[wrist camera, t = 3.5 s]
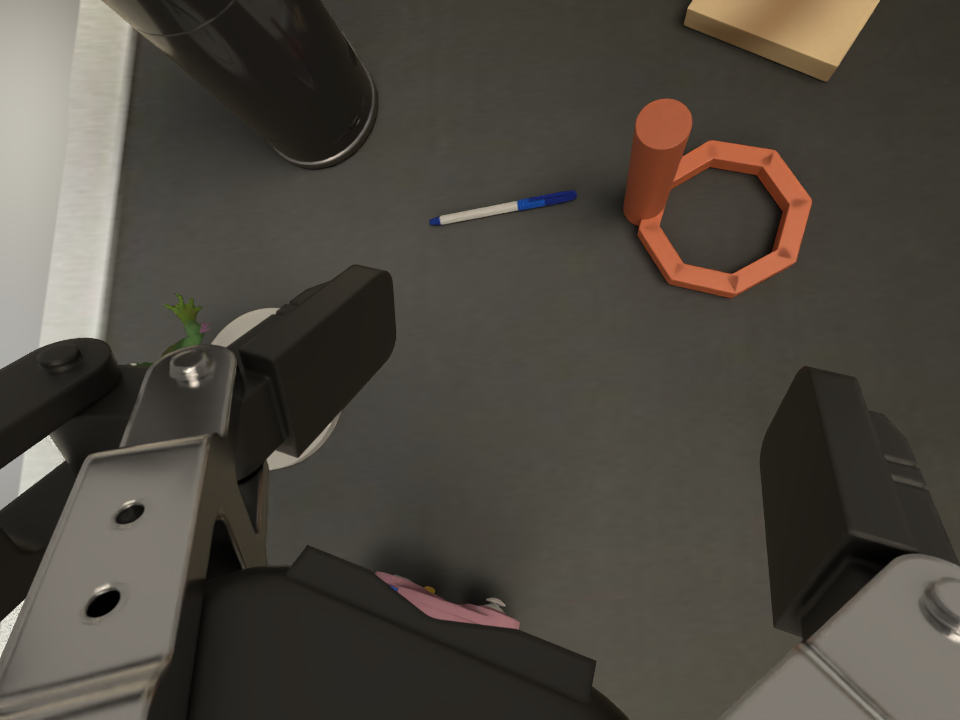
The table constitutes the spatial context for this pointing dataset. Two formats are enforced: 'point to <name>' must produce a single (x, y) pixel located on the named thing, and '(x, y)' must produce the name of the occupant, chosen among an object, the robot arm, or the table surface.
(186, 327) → the monster figurine
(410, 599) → the video game controller
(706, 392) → the table surface
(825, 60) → the peg stand
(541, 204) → the ballpoint pen
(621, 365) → the table surface
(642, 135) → the hoop
